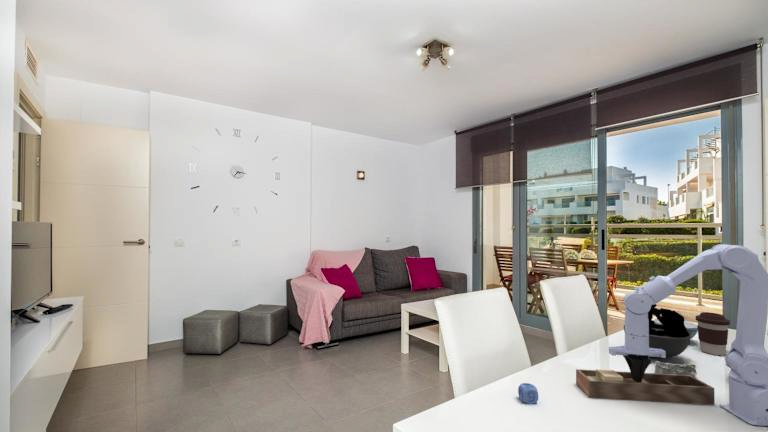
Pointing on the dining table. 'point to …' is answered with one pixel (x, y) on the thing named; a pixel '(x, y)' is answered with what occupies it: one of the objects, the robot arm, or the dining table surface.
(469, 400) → the dining table surface
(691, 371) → the egg carton
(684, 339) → the bowl of black rocks
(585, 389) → the brown wooden long box
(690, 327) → the chinaware
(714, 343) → the coffee cup
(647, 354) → the robot arm
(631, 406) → the dining table surface
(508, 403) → the dining table surface
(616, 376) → the beech block
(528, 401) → the decorative dice
